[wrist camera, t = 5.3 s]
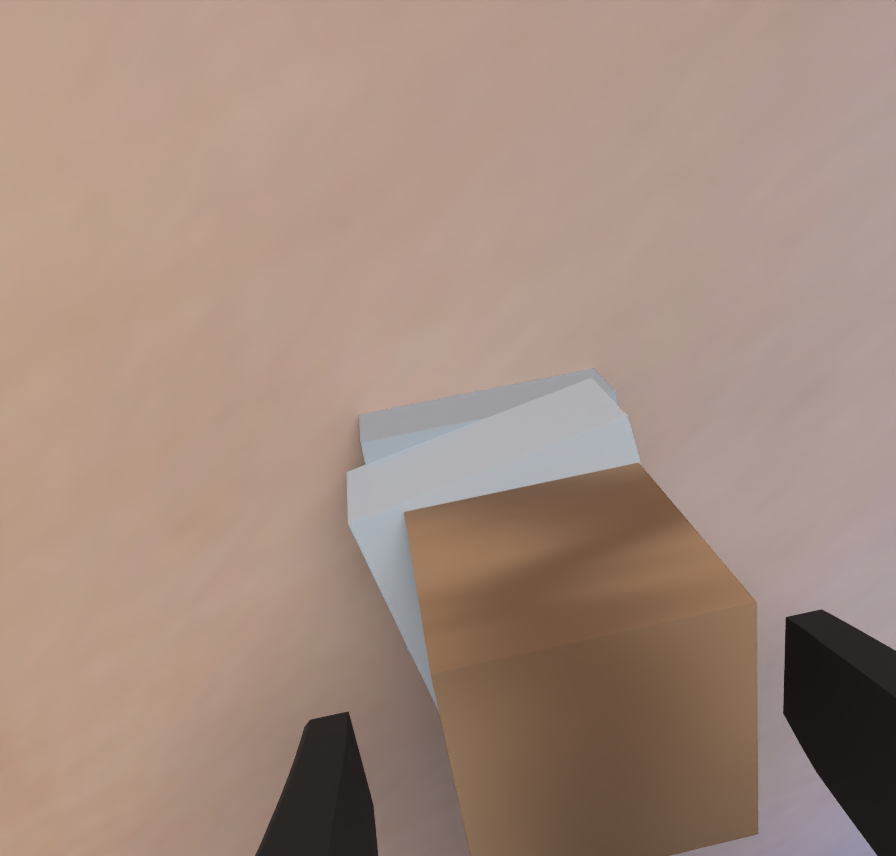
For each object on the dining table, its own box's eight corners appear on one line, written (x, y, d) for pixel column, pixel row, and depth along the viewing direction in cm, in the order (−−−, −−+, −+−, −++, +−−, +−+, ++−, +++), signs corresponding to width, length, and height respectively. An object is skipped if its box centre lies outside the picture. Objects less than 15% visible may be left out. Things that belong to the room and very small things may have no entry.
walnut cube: (638, 463, 15) (756, 601, 11) (652, 651, 16) (757, 833, 12) (404, 511, 14) (430, 674, 10) (444, 698, 16) (480, 900, 12)
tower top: (652, 580, 18) (690, 639, 16) (435, 663, 19) (448, 731, 17) (591, 377, 16) (627, 415, 14) (346, 472, 16) (347, 523, 14)
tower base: (603, 555, 21) (632, 603, 19) (400, 598, 20) (407, 652, 18) (586, 361, 18) (616, 392, 16) (358, 405, 18) (360, 442, 16)
